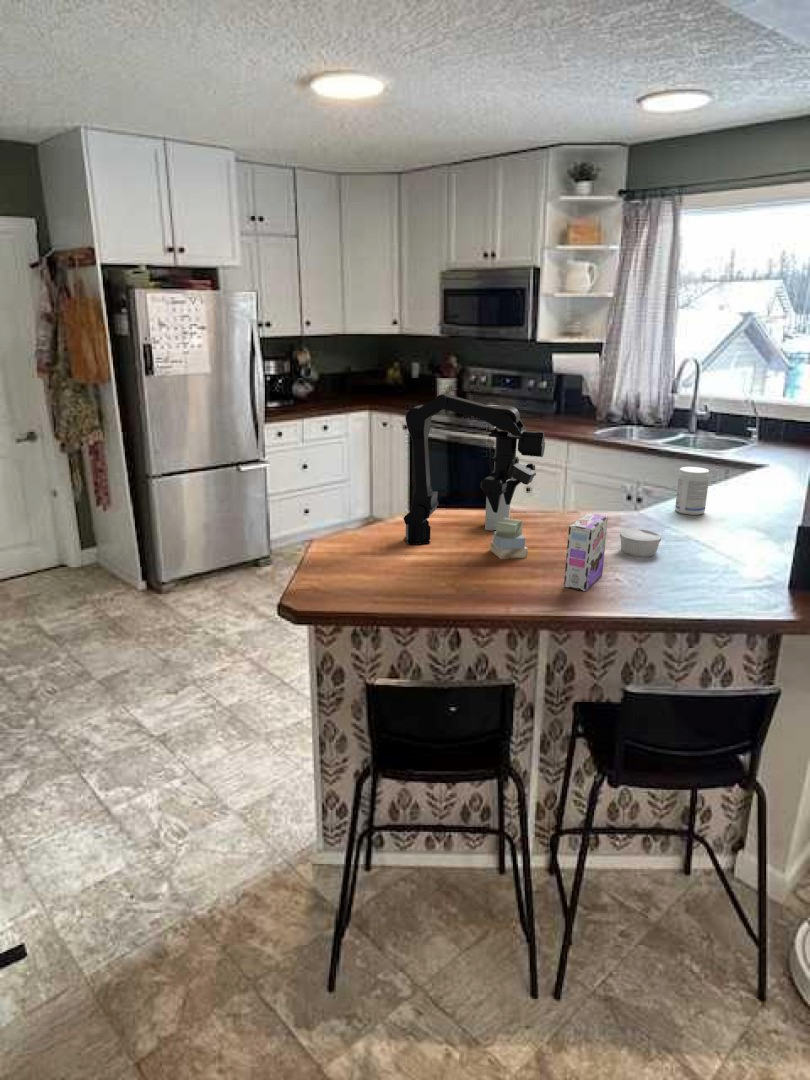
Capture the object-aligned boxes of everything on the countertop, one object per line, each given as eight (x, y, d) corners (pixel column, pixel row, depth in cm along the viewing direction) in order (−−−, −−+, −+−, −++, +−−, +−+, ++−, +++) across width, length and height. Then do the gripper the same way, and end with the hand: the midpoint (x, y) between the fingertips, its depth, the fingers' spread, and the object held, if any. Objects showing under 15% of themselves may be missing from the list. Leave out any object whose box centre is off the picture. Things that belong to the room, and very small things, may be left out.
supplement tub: (709, 512, 251) (715, 469, 246) (696, 517, 244) (702, 474, 240) (682, 506, 257) (687, 464, 252) (669, 511, 251) (674, 469, 246)
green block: (514, 539, 203) (515, 525, 202) (496, 536, 206) (496, 522, 205) (521, 534, 208) (522, 520, 207) (503, 530, 211) (504, 517, 209)
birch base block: (500, 560, 205) (500, 550, 204) (490, 551, 212) (490, 541, 211) (527, 558, 206) (527, 548, 205) (516, 549, 214) (516, 539, 213)
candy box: (585, 592, 182) (591, 529, 177) (562, 587, 185) (567, 525, 180) (603, 575, 193) (609, 515, 188) (581, 571, 196) (586, 511, 191)
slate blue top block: (500, 549, 204) (500, 539, 203) (493, 541, 211) (493, 531, 210) (524, 548, 205) (525, 538, 204) (516, 540, 212) (517, 530, 211)
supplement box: (508, 531, 228) (510, 492, 224) (484, 530, 229) (485, 490, 225) (509, 524, 235) (511, 486, 231) (486, 523, 236) (488, 485, 232)
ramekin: (665, 551, 212) (668, 534, 210) (648, 561, 204) (650, 543, 202) (629, 543, 219) (631, 526, 217) (611, 552, 211) (613, 534, 210)
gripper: (521, 463, 191) (516, 521, 196) (544, 451, 206) (540, 505, 211) (481, 458, 196) (478, 514, 201) (507, 446, 211) (504, 499, 216)
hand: (501, 508), depth 207 cm, fingers open, 9 cm apart
